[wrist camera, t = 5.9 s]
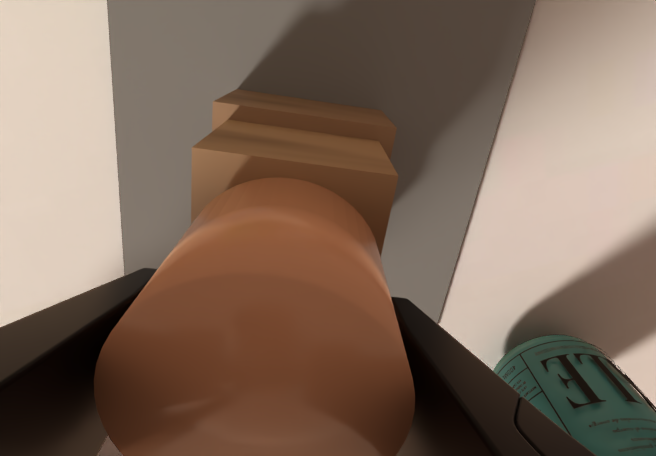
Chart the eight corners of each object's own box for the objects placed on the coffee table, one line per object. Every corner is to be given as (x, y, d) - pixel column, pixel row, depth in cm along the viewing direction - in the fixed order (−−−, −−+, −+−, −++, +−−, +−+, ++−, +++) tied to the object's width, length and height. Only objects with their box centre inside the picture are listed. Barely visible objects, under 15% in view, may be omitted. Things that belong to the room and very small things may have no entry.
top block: (353, 270, 16) (362, 339, 12) (221, 254, 15) (190, 319, 12) (378, 141, 14) (398, 176, 10) (227, 119, 13) (191, 147, 10)
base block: (357, 239, 20) (364, 283, 16) (230, 223, 19) (207, 264, 16) (381, 110, 17) (396, 128, 14) (236, 89, 17) (212, 101, 13)
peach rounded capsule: (361, 358, 11) (381, 522, 7) (182, 340, 11) (106, 499, 7) (399, 192, 9) (451, 295, 5) (182, 163, 9) (78, 252, 5)
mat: (431, 329, 22) (433, 335, 22) (130, 294, 21) (126, 300, 21) (531, -5, 16) (537, -6, 16) (108, -77, 15) (102, -80, 15)
